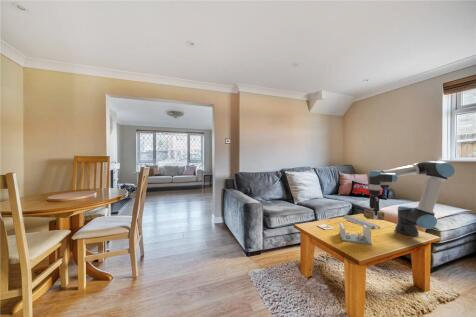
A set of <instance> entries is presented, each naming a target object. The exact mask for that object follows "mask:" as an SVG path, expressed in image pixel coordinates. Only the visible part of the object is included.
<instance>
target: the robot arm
mask: <svg viewBox="0 0 476 317" xmlns="http://www.w3.org/2000/svg"><path fill="white" fill-rule="evenodd" d="M455 171H456V170H455V167H454V166H453V164H452V163H450V162H447V161H443V160H442V161H435V160H434V161H432V160H428V161H427V160H426V161H425V160H424V161H419V162H415V163H410V164H409V165H406V166H401V167H394V168H388V169H384V170H383V169H382V170H376V169H375V170H374V169H373V170H372V169H371V170H369V171H368V172H369V173H368V194H369V208H370V209H369V210H373V219H372V220H375V219H378V211H379V210H380V198H379V196H380V195H381V189H382V188H381V183H396V182H397V181H398V177H403V176H409V175H415V176H416V175H424V176H425V177H426V182H425V185H424V188H423V191H422V194H421V197H420V200H419V202H418V205H417V206H412V205H411V206H410V205H399V206H398V207H397V223H396V226H395V228H394V231H395V232H397V233H398V234H401V235H404V236H410V237H419V236H420V235H419V233H420V232H419V230H418V228H417V227H420V228H422V229H426V230H430V229H433V228H435V227H436V226H437V224H438V219H437V217H436V216H435V215H436V213H435V212H434V209H435V206H436V203H437V201H438V198H439V195H440V192H441V190H442V189H441V188H442V186H443V184H444V182H446V181H447V180H448V178H452V177H453V176H454V175H455Z"/></svg>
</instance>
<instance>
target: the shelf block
mask: <svg viewBox="0 0 476 317" xmlns="http://www.w3.org/2000/svg"><path fill="white" fill-rule="evenodd" d="M363 217H364V218H365V219H367V220H375V221H376V220H379V221H385V212H384V211H382V210H380V209H379V211H378V219H373V210H370V209H363Z"/></svg>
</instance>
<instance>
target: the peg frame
mask: <svg viewBox="0 0 476 317" xmlns="http://www.w3.org/2000/svg"><path fill="white" fill-rule="evenodd" d="M362 233H363V234H362ZM362 233H359V232H358V233H357V234H354V233H350V232H349V231H346V227H345V226H344V225H343V223H342V222H339V232H338V235H339V236H340V239H341V242H348V243H355V244H363V245H371V246H372V245H373V242H372V231H371V229H368V228H367V226H366V225H363V226H362Z"/></svg>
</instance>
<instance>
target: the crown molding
mask: <svg viewBox="0 0 476 317" xmlns="http://www.w3.org/2000/svg"><path fill="white" fill-rule="evenodd" d="M343 219H344V220H346V221H349V222H351V221H352V222H351V223H354V222H355V223H354V224H356V223H357V224H356V225H358V224H359V225H358V226H361V227H363V225H366V226H367V228H368V229H369V230H372V229H374V228H375V230H376V228H377V229H381V227H380V225H377V224H374V223H371V222H368V221H367V220H364V219H361V218H359V217H356V216H352V215H347V214H345V215H344V216H343Z"/></svg>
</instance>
